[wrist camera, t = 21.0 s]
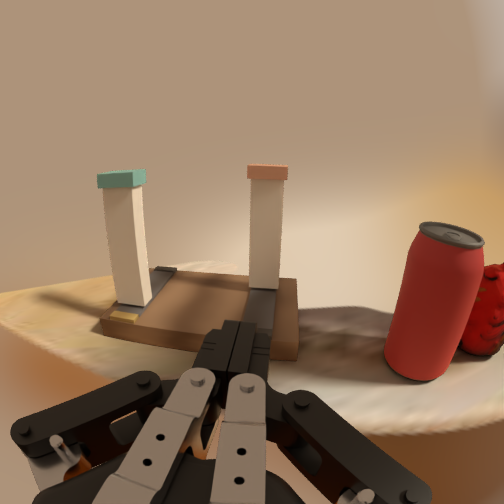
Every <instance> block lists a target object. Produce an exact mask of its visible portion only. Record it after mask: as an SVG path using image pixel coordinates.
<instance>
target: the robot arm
mask: <svg viewBox="0 0 504 504" xmlns="http://www.w3.org/2000/svg"><path fill="white" fill-rule="evenodd" d="M270 346H271V340H270V338H269V336H268V334H267V333H257V322H249V321H237V320H226V319H225V320H224V323H223V325H222V328H221V329H212V330H211V331H210V332H208V333H207V334H206V335H205V338H204V340H203V343H202V345H201V348H200V350H199V352H198V355H197V357H196V359H195V362H194V364H193V367H192V369H189V370H187V371H185V372H184V373H183V374H182V375H181V377H180V379H176V380H163V381H161V380H160V378H159V376H158V375H157V374H156V373H154V372H151V371H139V372H136V373H134V374H131V375H129V376H127V377H125V378H122V379H120V380H118V381H115V382H113V383H111V384H108V385H106V386H103V387H101V388H99V389H96V390H94V391H91V392H89V393H87V394H84V395H82V396H79V397H77V398H74V399H71V400H69V401H66V402H64V403H61V404H59V405H56V406H53V407H51V408H48V409H45V410H43V411H40V412H37V413H34V414H32V415H29V416H26V417H23V418H21V419H18V420H17V421H16V422H15V423H14V424H13V425H12V427H11V432H10V433H11V437H12V439H13V441H14V442H15V443H16V444H17V445H18V447H19V448H20V449H21V451H22V452H23V454H24V455H25V456H26V457H27V458H28V461H29V464H30V467H31V469H32V472H33V475H34V477H35V480H36V483H37V485H38V487H39V490H40V493H39V494H38V495H37V496H36V497H35V498H34V501H33V502H32V504H305V503H304V502H303V501H302V499H301V498H300V497H299V496H298V495H297V494H296V492H295V491H294V490H293V489H292V488H291V487H290V485H288V483H287V482H285V481H284V480H283V479H282V478H280V477H279V476H277V475H276V474H274V473H272V472H270V471H267V470H266V440H268V441H271V442H274V443H277V446H278V448H279V449H280V451H281V452H282V453H283V454H284V455H285V456H286V457H287V458H288V459H289V460H290V461H291V463H292V464H293V465H294V466H295V467H296V468H297V469H298V470H299V471H300V472H301V473H302V474H303V475H304V476H305V477H306V478H307V479H308V480H309V481H310V482H311V483H312V484H313V485H314V486H315V487H316V488H317V489H318V490H319V491H320V492H321V493H322V494H323V495H324V496H325V497H326V498H327V499H328V500H329V501H330V502H331V503H332V504H430V503H431V500H432V492H431V489H430V487H429V486H428V485H427V484H426V483H425V482H424V481H422V480H421V479H420V478H418V477H416V476H415V475H414V474H413V473H411V472H410V471H408V470H407V469H406V468H404V467H403V466H402V465H401V464H399V463H398V462H397V461H395V460H394V459H393V458H391V457H390V456H389V455H388V454H386V453H385V452H384V451H383V450H381V449H380V448H379V447H377V446H376V445H375V444H374V443H372V442H371V441H370V440H369V439H367V438H366V437H365V436H364V435H362V434H361V433H360V432H359V431H358V430H356V429H355V428H354V427H353V426H352V425H350V424H349V423H348V422H347V421H346V420H344V419H343V418H342V417H341V416H340V415H338V414H337V413H336V412H335V411H334V410H333V409H331V408H330V407H329V406H328V405H327V404H326V403H324V402H323V401H322V400H321V399H320V398H319V397H317V396H316V395H315V394H314V393H312V392H309V391H306V390H296V391H292V392H290V393H288V394H287V395H285V394H282V393H279V392H277V391H275V390H274V389H272V388H271V387H270V386H269V384H268V382H267V380H268V371H269V360H270ZM221 408H222V409H226V410H225V417H224V421H222V424H221V429H220V436H219V444H218V450H217V457H216V459H208V460H206V456H207V453H208V450H209V448H210V445H211V442H212V440H213V437H214V434H215V431H216V429H217V426H218V423H219V415H220V412H221ZM135 410H136V411H137V412H136V413H134V414H131V415H129V416H127V417H125V418H123V419H121V420H118V421H116V422H114V423H112V424H111V422H112V421H114V420H116V419H118V418H120V417H122V416H124V415H127V414H129V413H131V412H133V411H135ZM128 451H129V452H128ZM104 462H105V463H104ZM102 463H103V464H102ZM100 464H101V465H100ZM97 465H99V466H97ZM95 466H97V467H95ZM93 467H94V468H93ZM91 468H92V469H91Z"/></svg>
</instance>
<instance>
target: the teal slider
mask: <svg viewBox="0 0 504 504" xmlns="http://www.w3.org/2000/svg"><path fill="white" fill-rule="evenodd" d="M97 183H98V188H103V201H104V211H105V221H106V231H107V239H108V246H109V253H110V260H111V267H112V272H113V279H114V285H115V290H116V295H117V300H118V303H124V304H131V305H138V306H146V304H147V303H148V302H149V301H150V300H151V298H152V292H151V285H150V277H149V269H148V260H147V251H146V240H145V229H144V218H143V202H142V184H144V183H146V170H145V169H139V170H121V171H110V172H106V173H101V174H97Z"/></svg>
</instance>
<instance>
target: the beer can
mask: <svg viewBox="0 0 504 504" xmlns="http://www.w3.org/2000/svg"><path fill="white" fill-rule="evenodd" d="M419 229H420V230H419V232H418V234H417V235H416V237H415V239H414V241H413V242H412V244H411V247H410V249H409V252H408V256H407V261H406V266H405V271H404V275H403V280H402V284H401V288H400V292H399V297H398V300H397V304H396V309H395V312H394V316H393V319H392V323H391V326H390V330H389V333H388V336H387V340H386V343H385V346H384V356H385V358H386V360H387V362H388V364H389V365H390V366H391V367H392V369H393V370H394V371H396V372H397V373H399V374H400V375H402V376H404V377H407V378H410V379H413V380H420V381H426V380H432V379H435V378H437V377H439V376H441V375H442V374H443V373H444V372H445V371H446V370H447V368H448V366H449V364H450V362H451V360H452V358H453V355H454V353H455V351H456V349H457V346H458V344H459V342H460V339H461V337H462V334H463V332H464V329H465V327H466V324H467V321H468V319H469V316H470V313H471V310H472V308H473V305H474V302H475V299H476V296H477V292H478V289H479V286H480V283H481V279H482V276H483V272H484V255H483V245H484V243H485V242H484V240H483V238H482V237H481V236H479V235H478V234H476V233H474V232H472V231H469V230H467V229H464V228H461V227H458V226H454V225H451V224H446V223H440V222H423V223H421V224H420V225H419Z"/></svg>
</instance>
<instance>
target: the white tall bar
mask: <svg viewBox="0 0 504 504" xmlns="http://www.w3.org/2000/svg"><path fill="white" fill-rule="evenodd" d="M287 174H288V166H287V165H271V164H249V165H248V167H247V178H249V179H251V201H250V252H249V253H250V254H249V255H250V256H249V287H254V288H269V289H278V285H279V269H280V252H281V233H282V214H283V213H282V212H283V192H284V180H287Z"/></svg>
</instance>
